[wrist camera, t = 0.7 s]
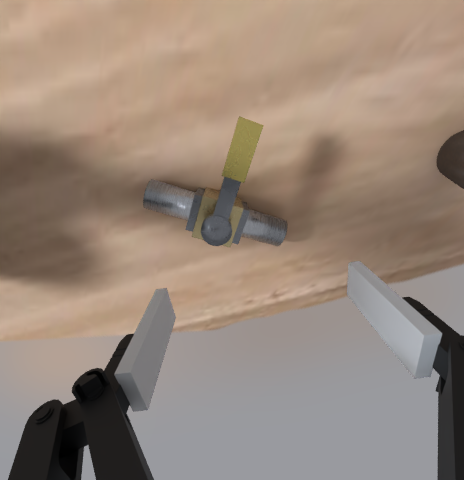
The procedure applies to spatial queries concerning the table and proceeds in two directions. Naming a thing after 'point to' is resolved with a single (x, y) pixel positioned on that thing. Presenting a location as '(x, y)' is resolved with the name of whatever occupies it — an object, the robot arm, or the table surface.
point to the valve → (203, 205)
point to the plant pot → (452, 159)
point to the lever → (231, 181)
